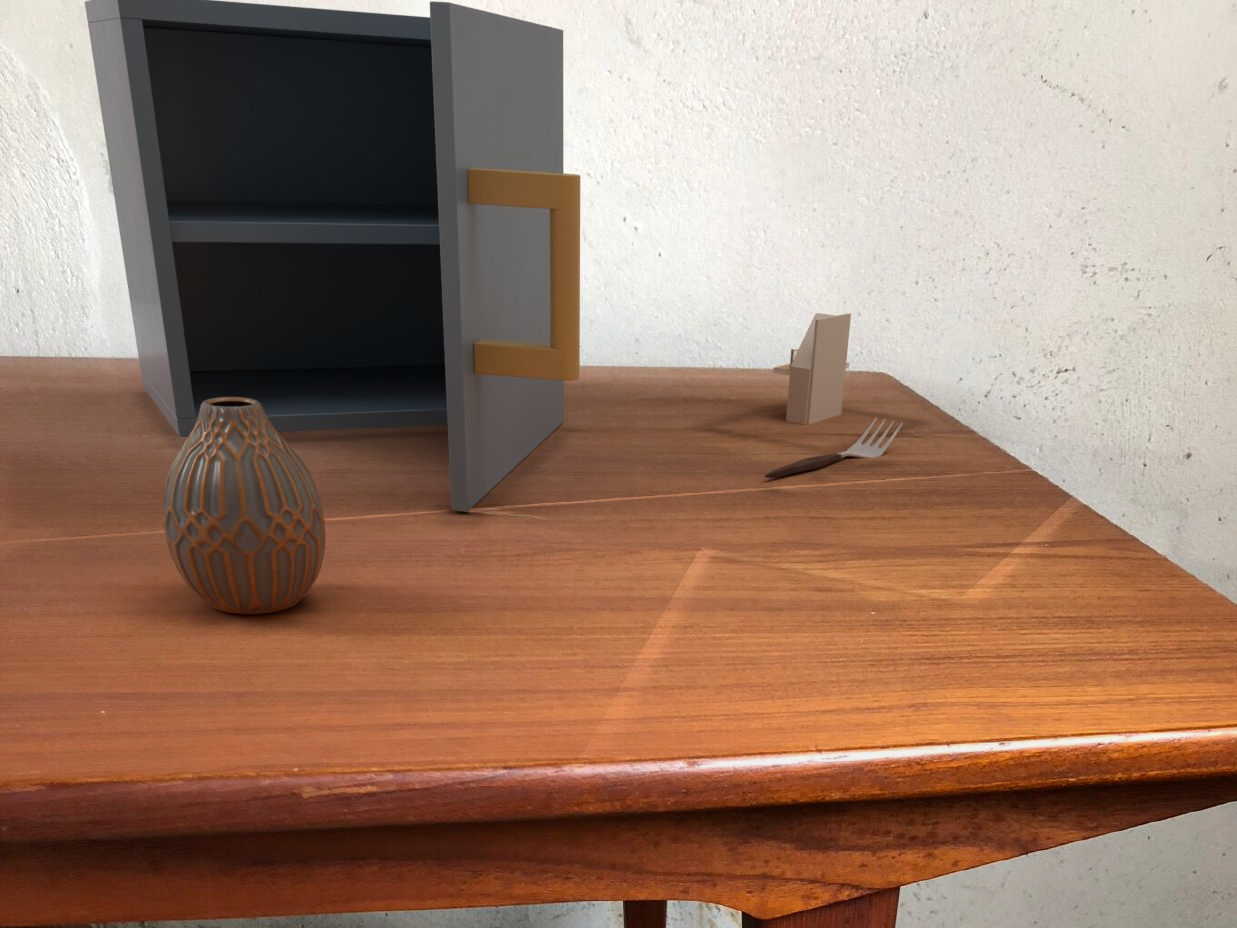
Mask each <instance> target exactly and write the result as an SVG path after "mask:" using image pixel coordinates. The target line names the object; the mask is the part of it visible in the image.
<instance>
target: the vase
mask: <svg viewBox="0 0 1237 928" xmlns="http://www.w3.org/2000/svg"><path fill="white" fill-rule="evenodd" d="M162 496H163V497H162V521H163V529H164V535H165V538H166V542H167V547H168V550H169V552H170V556H171V558H172V561H173V563H174V565H175V567H176V569H177V571H178V573H179V575H180V576H181V578H182V579H183V582H184V583H186V585H187V586H188V587H189V588H190V590H192V592H193V593H194V594H196V595H197V596H198V597H199V598H200V599H201V600H203V601H204V602H205V603H206V604H208V605H209V606H210V607H212V608H214V609H216V610H218V611H220V612H224V613H228V614H236V615H263V614H271V613H276V612H281V611H285V610H289V609H290V608H292V607H294V606H296V605H297V604H299V602H301V601H302V600H303V598H304V597H305V596H306V595H307V594H308V592H309V591H310V590H311V589H312V588H313V586H314V584H315V583H316V582H317V581H316V580H317V579H318V577H319V574H320V571H321V569H322V566H323V561H324V556H325V550H326V519H325V512H324V508H323V503H322V499H321V496H320V492H319V490H318V488H317V485H316V482H315V480H314V478H313V476H312V474H311V473H310V471H309V469H308V467H307V466H306V463H305V462H304V461H303V460H302V458H301V457H300V456H299V454H297V452H296V451H295V449H293V448H292V446H291V445H290V444H289V443H288V442H287V441H286V439H285V438H284V437H283V436H282V435H281V434H280V432H277V430H276V429H275V428H274V427H273V425H272V424H271V422H270V421H269V419H268V417H267V416H266V414H265V412H264V410H263V408H262V406H261V404H260V403H259V402H258V401H257V400H254V399H250V398H242V397H220V398H212V399H208V400H205V401H204V402H203V403H202V405H201V408H200V412H199V415H198V419H197V421H196V424H195V426H194V428H193V430H192V432H191V433H190V435H189V436H187V438H186V440H185V441H184V442H183V445H182V446H181V447H180V449H179V451H178V452H177V454H176V456H175V458H174V459H173V461H172V463H171V465H170V468H169V470H168V473H167V476H166V480H165V484H164V490H163V495H162Z"/></svg>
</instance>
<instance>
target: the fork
mask: <svg viewBox="0 0 1237 928" xmlns="http://www.w3.org/2000/svg"><path fill="white" fill-rule="evenodd" d="M877 421H878V417H875V418H874V419H873V421H872V423H871V424H870V425H869V426H868V427H867V429H866V430H865V431H864V432H863V434H862V435H861V436H860V437H859V438H858V439H857V441H856V442H855V443H854V444H853V445H851V446H850V447H849V448H848V449H846V450H845V451H842V452H835V453H829V454H823V455H815V456H810V457H807V458H803V459H799V460H797V461H795V462H792V463H790V464H786V465H784V466H781V467H779V468H776V469H774V470H771V471H769V472H767V473H766V474H764V476H763V477H764V478H766V479H774V478H780V477H785V476H788V475H789V476H790V475H793V474H797V473H803V472H808V471H813V470H818V469H820V468H823V467H825V466H828V465H829V464H832V463H834V462H836V461H838V460H841V459H842V458H845V457H852V458H853V457H854V458H859V459H875V458H879V457H882V455H883V454H884V453H885V452H886V450H887V449H888V448H889V446H890V445H891V444H892V442H893V441H894V439H895V437H896V436H897V435H898V433H899V431H900V429H901V428H902V427H903V425H904V422H903V421H901V422H900V424H899V425H898V427H897V428H896V430H895V431H893V433H892V434H891V436H890V437H889V438H888V439H887V441H886V442H885V443H884V444H883V445H882V446H881V444H882V443H883V441H884V439H885V438H886V436H887V435H888V433H889V432H890V430H891V429H892V428H893V425H894V423H895V420H892V422H891V423H890V424H889V425H888V427H887V428H886V430H885V431H884V432H883V433H882V434H881V436H880V437H879V438H878V439H877V441H876V442H875V443H874V444H872V443H873V441H874V440H875V439H876V437H877V436H878V434H879V432H880V431H881V429H882V427H883V426H884V425H885V423H886V418H884V419H883V421H882V422H881V423H880V425H879V426H878V427H877V428H876V430H875V431H874V432H873V433H872V434H871V436H870V437H869V438H868V439H867V440H866V442H865V443H863V442H864V440H865V439H866V437H867V436H868V435H869V432H870V431H871V430H872V428H873V427H874V425H875V423H876V422H877ZM862 443H863V444H862ZM880 446H881V447H880Z"/></svg>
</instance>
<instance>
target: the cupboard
mask: <svg viewBox="0 0 1237 928" xmlns="http://www.w3.org/2000/svg"><path fill="white" fill-rule="evenodd" d="M84 6H85V7H84V8H85V13H86V20H87V27H88V33H89V40H90V46H91V52H92V53H91V54H92V60H93V61H92V62H93V67H94V74H95V79H96V87H97V92H98V100H99V106H100V112H101V119H102V126H103V131H104V138H105V145H106V152H107V158H108V159H107V160H108V165H109V166H108V167H109V171H110V172H109V173H110V177H111V179H110V180H111V185H112V193H113V198H114V205H115V211H116V218H117V225H118V231H119V238H120V243H121V245H120V246H121V251H122V257H123V264H124V270H125V271H124V272H125V276H126V284H127V290H128V297H129V303H130V311H131V316H132V322H133V329H134V330H133V331H134V336H135V342H136V343H135V344H136V350H137V355H138V362H139V363H138V364H139V369H140V375H141V381H142V382H141V383H142V387H143V389H144V390H145V391H146V393H147V394H148V396H149V397H150V398H151V400H152V401H153V403H154V404H155V406H157V408H158V409H159V411H160V413H162V415H163V416H164V418H165V419H166V420H167V422H168V424H169V425H170V426H171V427H172V429H173V430H174V432H175V433H176V434H177V436H178V437H182V438H183V437H188V436H189V435H190V433H191V432H192V430H193V428H194V426H195V424H196V421H197V419H198V415H199V412H200V408H201V405H202V403H203V402H204V401H205V400H208V399H212V398H220V397H242V398H250V399H254V400H257V401H258V402H259V403H260V404H261V406H262V408H263V410H264V412H265V414H266V416H267V417H268V419H269V421H270V422H271V424H272V425H273V427H274V428H275V429H276V430H277V432H278V433H295V432H317V431H318V432H319V431H338V430H362V429H383V428H385V429H386V428H387V429H388V428H407V427H429V426H431V427H432V426H448V418H447V395H446V372H445V348H444V325H443V302H442V279H441V256H440V233H439V209H438V186H437V163H436V140H435V117H434V93H433V70H432V47H431V24H430V16H419V15H407V14H406V15H405V14H393V13H382V12H381V13H380V12H368V11H367V12H366V11H355V10H342V9H330V8H328V9H327V8H317V7H304V6H291V5H280V4H279V5H278V4H266V3H254V2H242V1H241V2H240V1H230V0H229V1H226V0H85V1H84Z"/></svg>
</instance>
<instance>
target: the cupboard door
mask: <svg viewBox="0 0 1237 928" xmlns="http://www.w3.org/2000/svg"><path fill="white" fill-rule="evenodd" d="M429 17H430V24H431V47H432V70H433V93H434V117H435V140H436V163H437V186H438V209H439V233H440V256H441V279H442V302H443V325H444V348H445V372H446V395H447V418H448V425H447V439H448V441H447V442H448V461H449V464H448V465H449V483H450V484H449V485H450V508H451V511H457V512H469V511H470V510H471V509H472V508H473V507H475V505H477V504H478V503H479V502H480V501H481V500H482V499H483V498H484V497H485V496H486V495H487V494H488V493H489V492H490V491H492V489H494V488H495V486H496V485H498V484H499V483H500V482H501V481H502V480H503V479H505V477H506V476H507V475H508V474H509V473H511V472H512V471H513V470H514V469H515V468H516V467H517V466H518V465H519V464H520V463H521V462H522V461H523V460H524V459H526V458H527V457H528V456H529V455H530V454H531V453H532V452H533V451H534V450H536V448H538V447H539V446H540V444H541V443H542V442H544V441H545V440H546V439H547V438H548V437H549V436H550V435H552V433H553V432H554V431H556V430H557V428H559V427H560V426H561V425H562V424H563V423H564V421H565V420H564V419H565V418H564V417H565V414H564V413H565V406H564V405H565V404H564V403H565V402H564V401H565V399H564V397H565V393H564V392H565V391H564V387H565V382H569V381H570V382H571V381H577V380H580V371H581V370H580V365H581V363H580V362H581V360H580V358H581V352H580V351H581V175H580V174H575V173H566V172H564V29H561V28H557V27H552V26H548V25H545V24H540V23H536V22H533V21H528V20H523V19H519V18H516V17H511V16H507V15H503V14H499V13H495V12H490V11H487V10H483V9H478V8H474V7H469V6H466V5H462V4H458V3H453V2H451V1H437V0H436V1H435V0H433V1H432V0H431V1H429Z"/></svg>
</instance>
